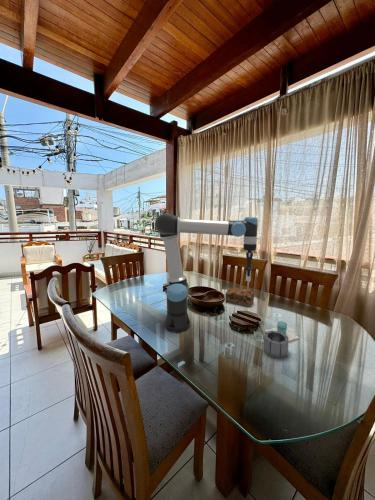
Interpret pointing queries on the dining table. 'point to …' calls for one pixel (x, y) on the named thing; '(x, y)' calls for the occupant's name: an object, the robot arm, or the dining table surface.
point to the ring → (276, 344)
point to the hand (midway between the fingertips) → (248, 277)
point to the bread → (239, 297)
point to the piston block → (284, 331)
